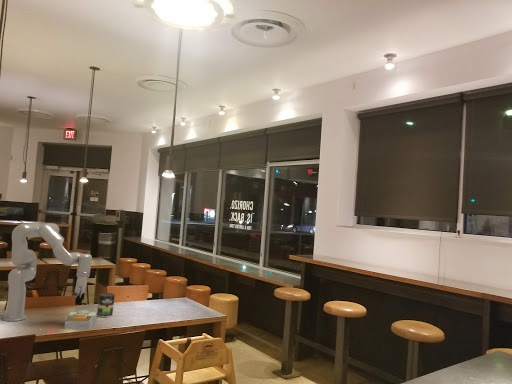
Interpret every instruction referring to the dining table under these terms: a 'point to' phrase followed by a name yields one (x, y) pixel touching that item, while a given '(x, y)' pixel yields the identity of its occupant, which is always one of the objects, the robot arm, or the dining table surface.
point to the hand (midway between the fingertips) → (79, 301)
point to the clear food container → (84, 313)
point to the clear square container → (79, 323)
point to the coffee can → (105, 305)
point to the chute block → (79, 317)
